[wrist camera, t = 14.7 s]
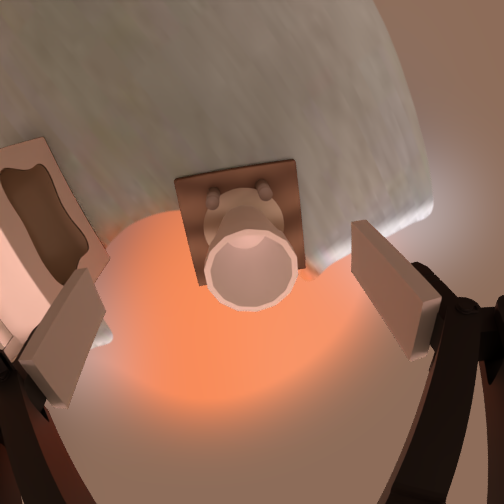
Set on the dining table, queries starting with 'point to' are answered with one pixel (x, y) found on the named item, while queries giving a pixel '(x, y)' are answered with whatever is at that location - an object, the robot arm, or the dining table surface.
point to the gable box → (38, 239)
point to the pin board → (240, 193)
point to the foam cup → (249, 261)
